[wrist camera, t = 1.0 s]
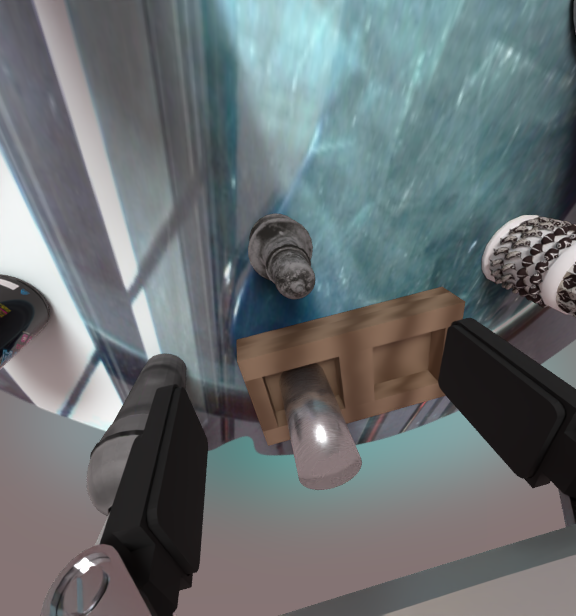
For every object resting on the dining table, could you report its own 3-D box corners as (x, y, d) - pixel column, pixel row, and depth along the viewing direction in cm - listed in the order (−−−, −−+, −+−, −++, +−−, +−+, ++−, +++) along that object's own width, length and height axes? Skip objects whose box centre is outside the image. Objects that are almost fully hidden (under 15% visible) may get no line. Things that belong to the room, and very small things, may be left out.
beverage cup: (174, 399, 36) (122, 625, 19) (119, 373, 33) (-3, 618, 16) (210, 364, 35) (190, 577, 17) (156, 332, 31) (66, 557, 14)
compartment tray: (442, 286, 35) (465, 301, 32) (432, 374, 43) (450, 394, 39) (236, 339, 33) (237, 361, 30) (265, 421, 41) (268, 445, 38)
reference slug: (321, 356, 35) (359, 442, 25) (327, 389, 38) (363, 478, 28) (274, 368, 35) (293, 461, 24) (284, 401, 38) (304, 496, 27)
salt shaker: (289, 275, 31) (318, 339, 20) (237, 256, 29) (241, 316, 18) (313, 224, 28) (361, 267, 18) (259, 200, 26) (278, 231, 16)
